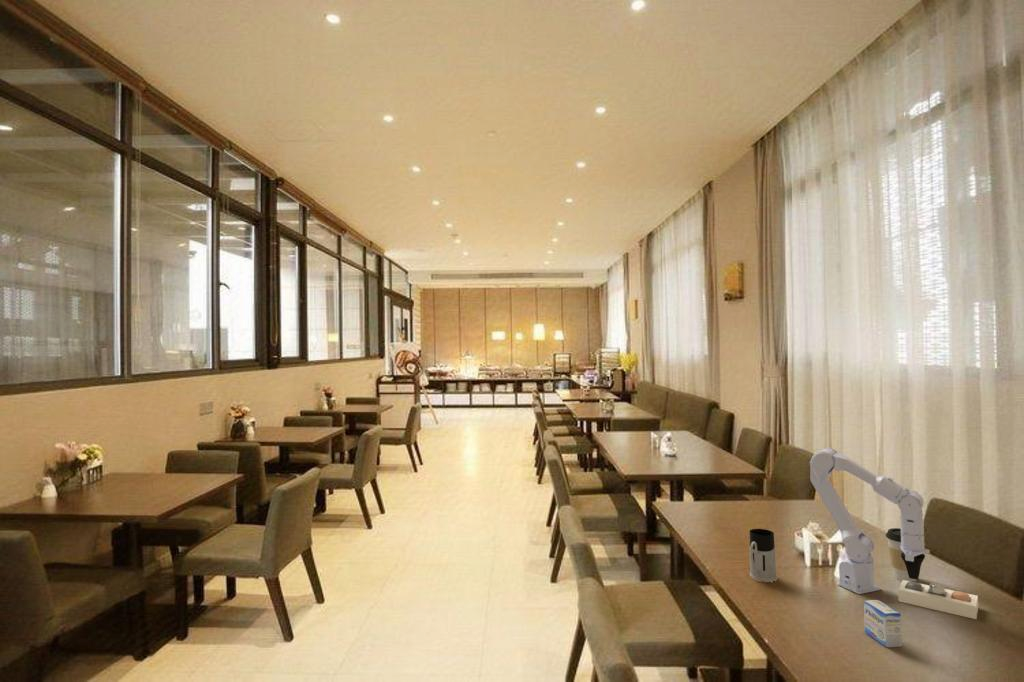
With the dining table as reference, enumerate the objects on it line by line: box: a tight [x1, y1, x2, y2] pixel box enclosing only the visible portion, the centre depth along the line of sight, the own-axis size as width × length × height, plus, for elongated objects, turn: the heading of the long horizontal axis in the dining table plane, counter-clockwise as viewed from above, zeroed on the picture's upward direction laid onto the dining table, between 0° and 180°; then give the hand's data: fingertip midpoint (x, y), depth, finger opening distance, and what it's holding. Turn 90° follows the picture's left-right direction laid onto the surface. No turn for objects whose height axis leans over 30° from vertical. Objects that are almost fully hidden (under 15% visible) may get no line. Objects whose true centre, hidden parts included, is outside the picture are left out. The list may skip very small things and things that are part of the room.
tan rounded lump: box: [953, 590, 969, 602], centre depth 161 cm, size 4×4×3 cm
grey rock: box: [929, 582, 946, 597], centre depth 165 cm, size 4×4×3 cm
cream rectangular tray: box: [897, 580, 979, 620], centre depth 165 cm, size 18×9×4 cm, turn 48°
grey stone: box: [907, 581, 922, 592], centre depth 169 cm, size 4×4×3 cm
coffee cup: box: [885, 527, 918, 582], centre depth 184 cm, size 10×10×15 cm
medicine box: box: [863, 599, 903, 649], centre depth 147 cm, size 8×4×9 cm, turn 5°
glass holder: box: [749, 528, 778, 583], centre depth 186 cm, size 9×14×15 cm, turn 137°
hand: (913, 578), depth 169 cm, fingers closed
